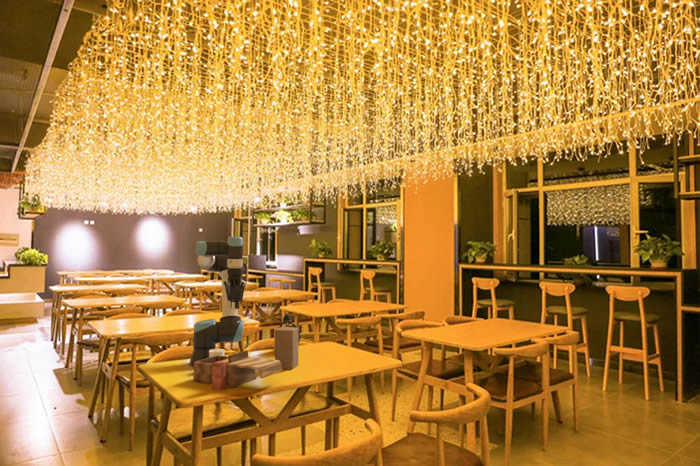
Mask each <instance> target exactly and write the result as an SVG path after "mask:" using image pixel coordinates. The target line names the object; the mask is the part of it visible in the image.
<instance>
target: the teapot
mask: <svg viewBox="0 0 700 466" xmlns="http://www.w3.org/2000/svg"><path fill="white" fill-rule="evenodd" d="M289 324H290V325H291V326H292V327H296V328H298V326H297V325H296V324H295V323H294V322H292V318H291V316H290V314H288V313H286V314H284V316H283V318H282V322H281V323H280V325H279V327H278V328H281V327H283V325H285V327H289ZM301 337H302V335H301V332H300V329H299V328H298V344H299V343H300V342H301V339H302V338H301ZM274 341H275V338H274Z"/></svg>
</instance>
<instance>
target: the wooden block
mask: <svg viewBox="0 0 700 466" xmlns="http://www.w3.org/2000/svg"><path fill="white" fill-rule="evenodd" d="M298 329H299V328H298V327H297V328H296V327H291V326H288V327H286V326H282V327H281V328H279V327H278V328H276V329H274V339H275V340H274V360H280V362H281V363H282V370H294V368H296V367H298V366H299V343H298V338H299V335H298Z"/></svg>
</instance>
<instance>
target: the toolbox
mask: <svg viewBox="0 0 700 466" xmlns="http://www.w3.org/2000/svg"><path fill="white" fill-rule="evenodd" d="M225 359H228V355H224V356H220V355H216V356H213V357H210V358H206V359H203V360H199V361H196V362H194V366H193V379H192V380H193V382H194V383H195V382H196V383H199V384H200V383H202V384H208V385H212V363H214V362H217V361H222V360H225ZM254 380H257V370H256V369H249V368H242V367H234V366H227V365H226V388H232V389H234V388H237V387H239V386H242V385H244V384H247V383H249V382H251V381H254Z"/></svg>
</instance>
